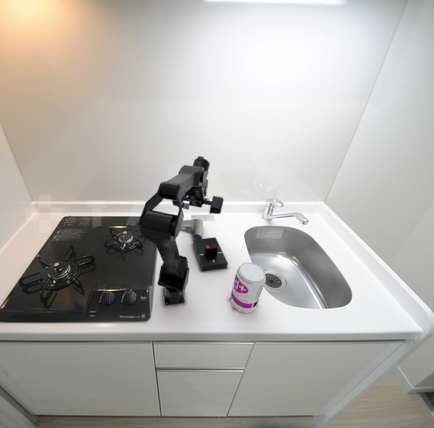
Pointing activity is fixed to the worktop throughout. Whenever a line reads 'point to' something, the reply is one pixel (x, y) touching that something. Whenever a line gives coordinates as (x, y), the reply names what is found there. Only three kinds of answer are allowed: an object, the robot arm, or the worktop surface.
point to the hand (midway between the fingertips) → (199, 210)
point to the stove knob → (211, 250)
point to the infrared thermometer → (193, 227)
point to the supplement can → (247, 287)
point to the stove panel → (213, 260)
